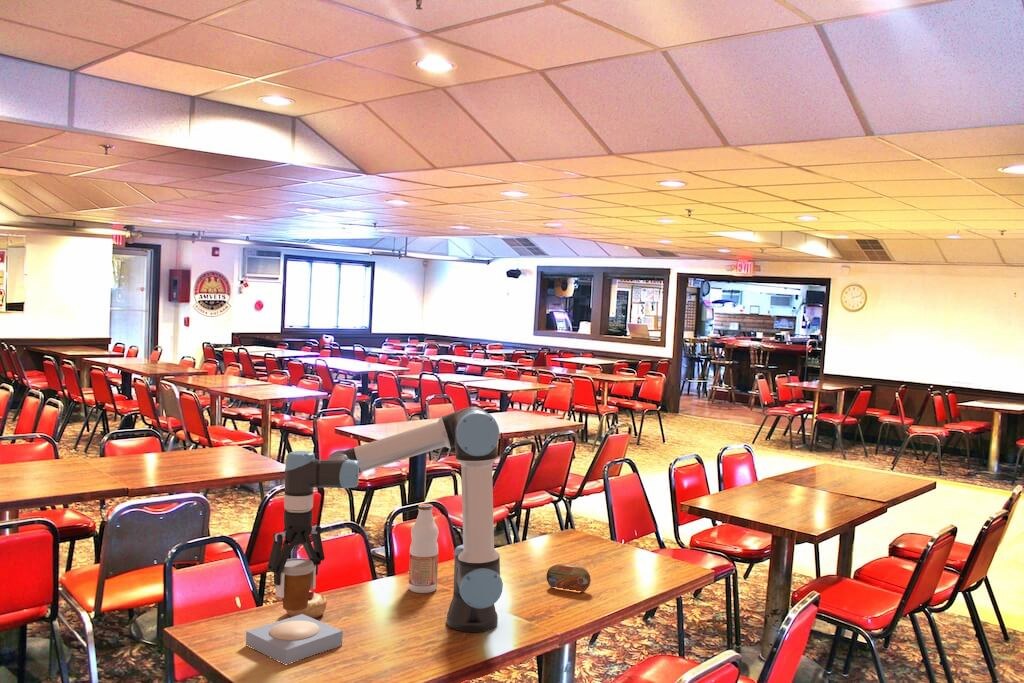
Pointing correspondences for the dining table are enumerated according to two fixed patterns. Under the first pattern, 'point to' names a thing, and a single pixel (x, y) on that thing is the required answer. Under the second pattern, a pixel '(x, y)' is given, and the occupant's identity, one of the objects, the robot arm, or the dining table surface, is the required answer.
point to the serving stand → (294, 638)
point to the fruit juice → (424, 552)
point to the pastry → (312, 606)
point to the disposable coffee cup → (297, 583)
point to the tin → (568, 577)
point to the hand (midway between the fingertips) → (295, 592)
